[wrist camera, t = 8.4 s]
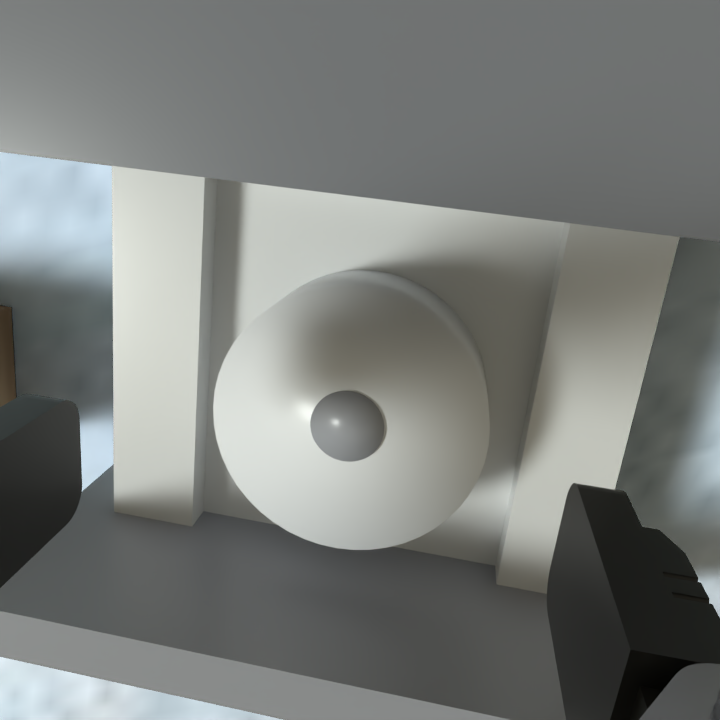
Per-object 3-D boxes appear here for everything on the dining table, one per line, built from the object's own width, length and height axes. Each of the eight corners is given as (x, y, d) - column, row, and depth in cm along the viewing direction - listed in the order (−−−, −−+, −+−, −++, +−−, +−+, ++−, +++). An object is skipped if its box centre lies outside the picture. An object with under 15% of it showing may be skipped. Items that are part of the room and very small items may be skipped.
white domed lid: (252, 256, 16) (215, 271, 14) (504, 285, 15) (510, 306, 13) (242, 481, 18) (208, 528, 15) (468, 516, 17) (468, 571, 15)
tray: (115, -120, 16) (-131, -310, 9) (784, -72, 14) (1052, -266, 8) (117, 502, 21) (-40, 657, 14) (606, 594, 19) (675, 817, 13)
